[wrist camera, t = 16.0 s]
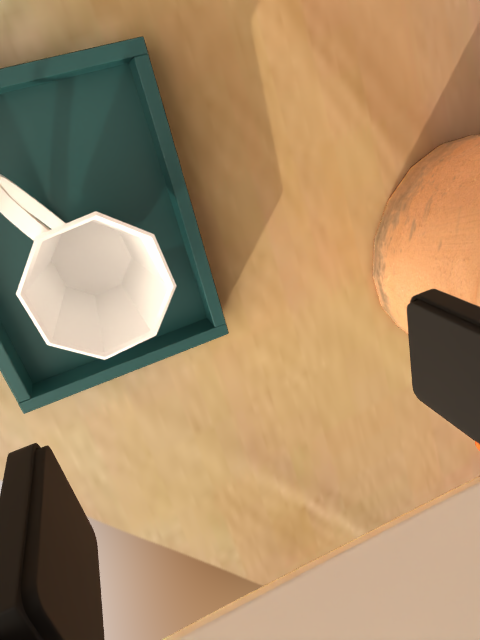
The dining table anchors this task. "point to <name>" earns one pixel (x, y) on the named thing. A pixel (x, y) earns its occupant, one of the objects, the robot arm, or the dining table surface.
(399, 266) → the pottery
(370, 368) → the dining table surface
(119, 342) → the cup
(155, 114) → the tray
